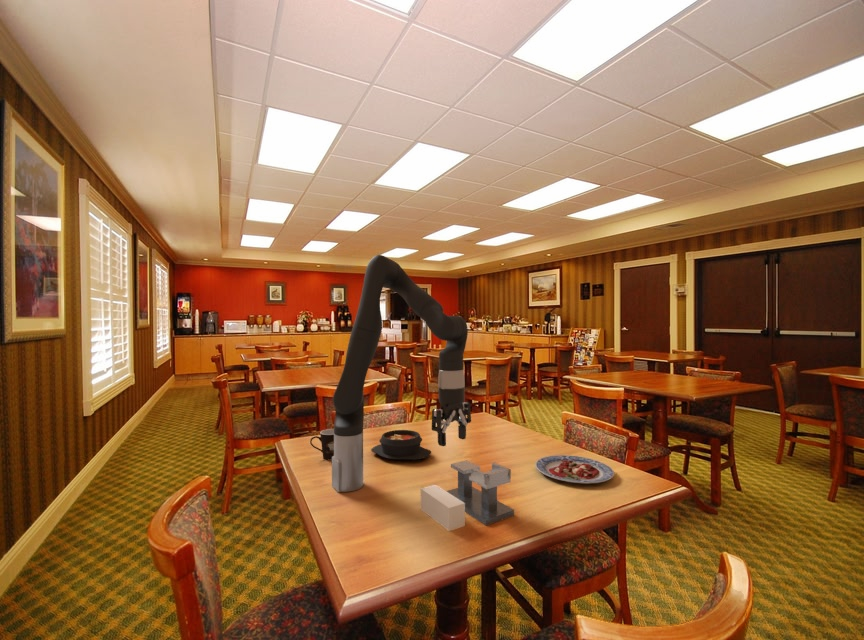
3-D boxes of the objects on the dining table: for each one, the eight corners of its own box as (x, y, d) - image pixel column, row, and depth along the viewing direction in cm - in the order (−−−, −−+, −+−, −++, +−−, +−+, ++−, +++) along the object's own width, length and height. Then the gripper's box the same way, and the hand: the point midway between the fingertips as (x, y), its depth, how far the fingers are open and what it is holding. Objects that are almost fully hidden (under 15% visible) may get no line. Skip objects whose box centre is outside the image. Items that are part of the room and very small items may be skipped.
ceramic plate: (552, 456, 155) (552, 448, 155) (622, 471, 139) (622, 463, 139) (522, 476, 135) (522, 467, 135) (600, 496, 119) (600, 486, 119)
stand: (485, 525, 102) (485, 477, 102) (442, 497, 118) (442, 455, 118) (514, 515, 107) (513, 469, 107) (468, 489, 124) (468, 449, 124)
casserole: (439, 453, 158) (439, 432, 158) (416, 468, 142) (416, 445, 142) (387, 444, 170) (387, 425, 170) (361, 458, 153) (361, 436, 154)
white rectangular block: (449, 531, 99) (449, 508, 99) (420, 509, 111) (420, 488, 111) (464, 526, 102) (464, 503, 102) (435, 505, 113) (435, 484, 114)
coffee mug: (345, 453, 158) (345, 429, 158) (338, 461, 149) (338, 435, 150) (317, 453, 159) (317, 428, 159) (309, 460, 151) (309, 434, 151)
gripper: (457, 381, 120) (458, 434, 120) (424, 387, 110) (425, 445, 110) (477, 383, 115) (478, 439, 115) (444, 390, 105) (445, 451, 105)
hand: (452, 442), depth 112 cm, fingers open, 8 cm apart
